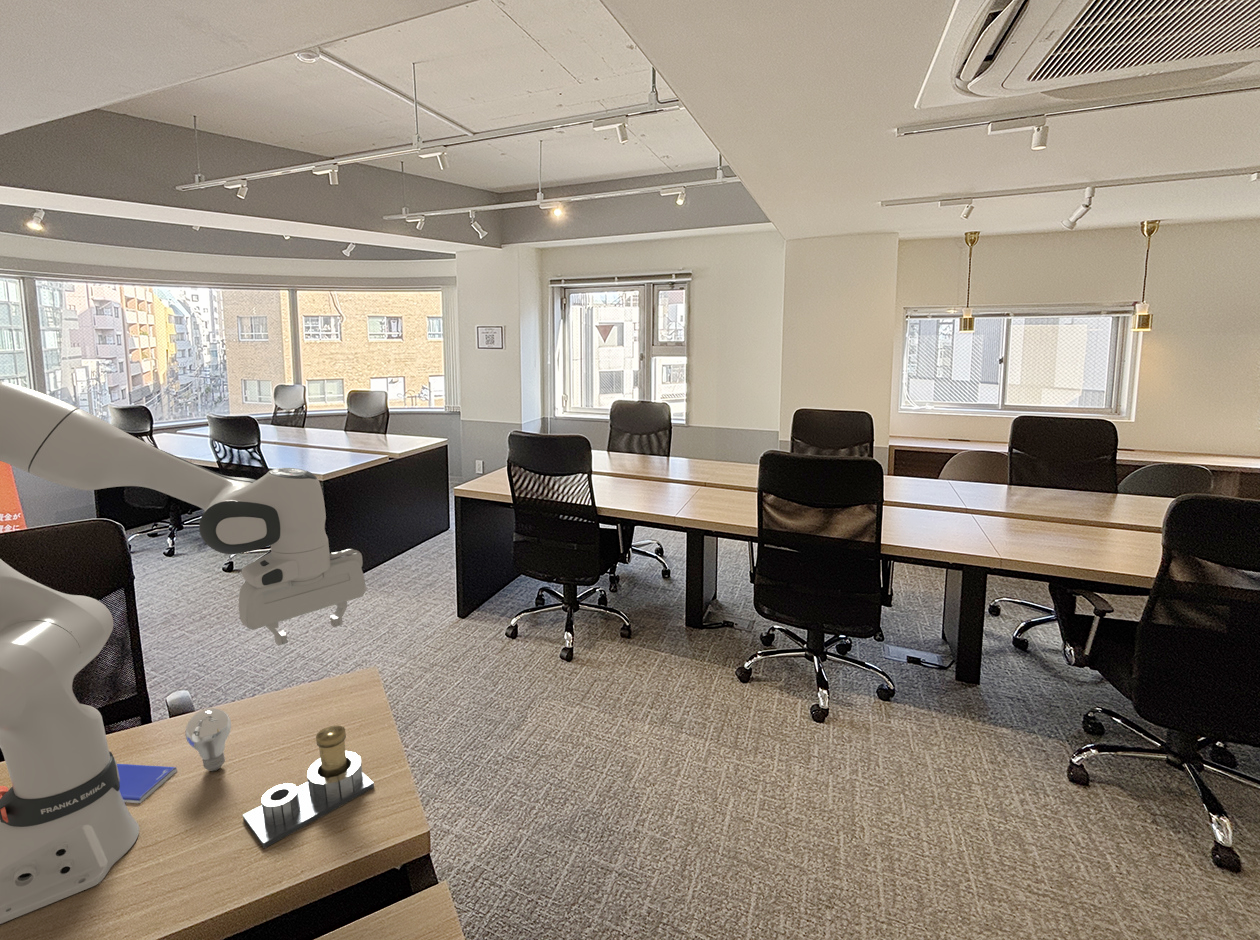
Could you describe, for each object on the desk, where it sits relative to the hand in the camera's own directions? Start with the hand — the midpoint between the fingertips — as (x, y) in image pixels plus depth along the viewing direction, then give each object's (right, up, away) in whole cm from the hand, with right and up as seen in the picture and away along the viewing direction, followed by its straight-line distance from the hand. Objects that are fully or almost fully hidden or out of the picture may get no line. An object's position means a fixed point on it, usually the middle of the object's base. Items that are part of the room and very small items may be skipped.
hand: (310, 634), depth 114 cm
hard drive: (-33, -28, +1) cm, 43 cm away
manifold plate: (+2, -28, -4) cm, 28 cm away
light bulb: (-19, -26, +4) cm, 33 cm away
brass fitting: (+5, -26, -1) cm, 27 cm away
